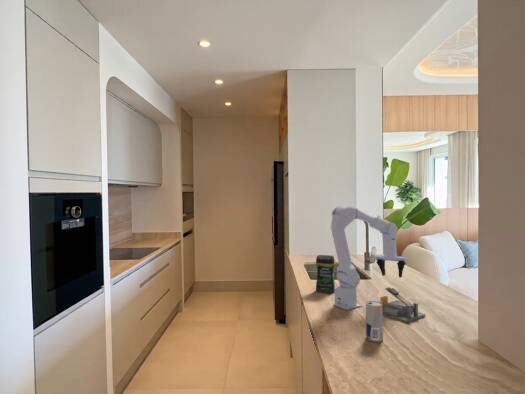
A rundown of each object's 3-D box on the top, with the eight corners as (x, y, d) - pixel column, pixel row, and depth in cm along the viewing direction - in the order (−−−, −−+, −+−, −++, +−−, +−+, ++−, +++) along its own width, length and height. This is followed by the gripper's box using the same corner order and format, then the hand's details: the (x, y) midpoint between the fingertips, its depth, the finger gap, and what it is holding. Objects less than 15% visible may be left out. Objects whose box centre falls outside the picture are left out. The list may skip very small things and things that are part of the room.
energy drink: (369, 334, 111) (369, 299, 111) (385, 338, 108) (384, 302, 108) (363, 339, 107) (363, 303, 107) (379, 343, 104) (379, 307, 104)
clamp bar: (415, 308, 125) (416, 305, 125) (410, 309, 124) (411, 306, 124) (389, 288, 136) (390, 286, 135) (384, 289, 135) (385, 287, 134)
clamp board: (406, 322, 121) (406, 308, 121) (372, 310, 135) (372, 297, 135) (425, 316, 127) (425, 302, 127) (391, 305, 141) (391, 292, 141)
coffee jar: (314, 292, 161) (314, 256, 161) (317, 288, 169) (317, 253, 169) (334, 294, 158) (333, 257, 158) (336, 290, 165) (335, 254, 165)
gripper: (408, 246, 148) (410, 275, 148) (377, 245, 157) (379, 272, 157) (403, 249, 142) (406, 279, 143) (372, 247, 152) (374, 276, 152)
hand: (392, 276), depth 150 cm, fingers open, 7 cm apart
